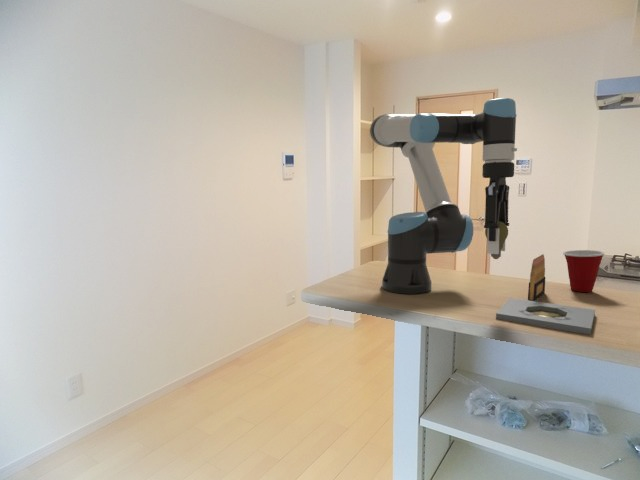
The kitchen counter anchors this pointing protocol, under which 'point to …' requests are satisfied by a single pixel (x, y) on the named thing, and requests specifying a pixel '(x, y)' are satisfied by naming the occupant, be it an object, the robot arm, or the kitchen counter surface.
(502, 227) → the light bulb
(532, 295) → the ammunition clip
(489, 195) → the robot arm
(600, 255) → the plastic cup
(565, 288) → the kitchen counter surface
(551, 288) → the kitchen counter surface
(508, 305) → the socket plate
